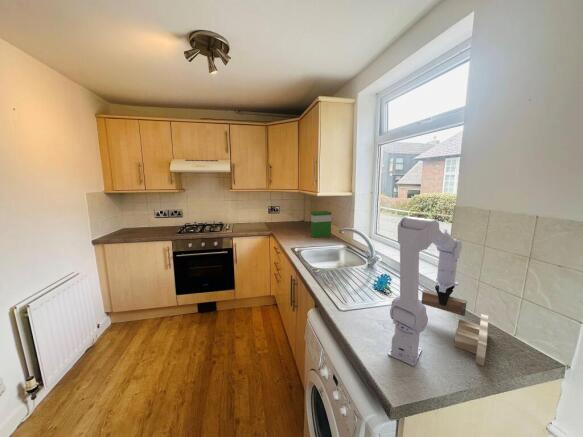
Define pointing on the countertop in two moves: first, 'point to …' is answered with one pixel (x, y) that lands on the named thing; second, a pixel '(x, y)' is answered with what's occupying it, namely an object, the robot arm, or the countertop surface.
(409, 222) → the robot arm
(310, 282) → the countertop surface
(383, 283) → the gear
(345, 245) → the countertop surface
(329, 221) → the hardback book
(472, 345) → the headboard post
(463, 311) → the bed rail
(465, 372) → the countertop surface
